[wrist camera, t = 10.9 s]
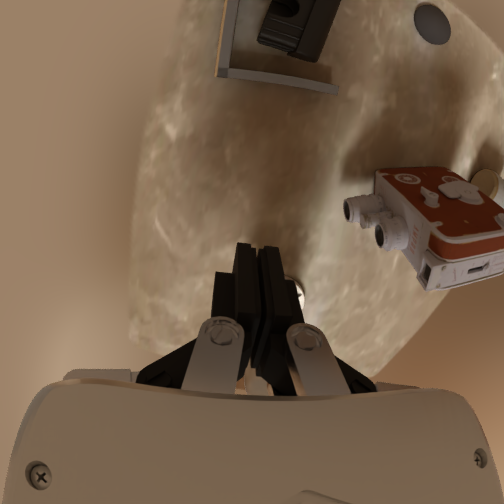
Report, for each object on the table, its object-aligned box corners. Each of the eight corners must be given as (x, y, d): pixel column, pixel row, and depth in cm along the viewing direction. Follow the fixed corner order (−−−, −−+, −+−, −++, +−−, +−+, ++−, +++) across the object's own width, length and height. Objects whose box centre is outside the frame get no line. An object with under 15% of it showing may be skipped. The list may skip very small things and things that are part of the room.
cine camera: (336, 162, 39) (404, 239, 22) (446, 158, 38) (532, 220, 22) (336, 219, 44) (387, 315, 28) (439, 208, 43) (510, 282, 27)
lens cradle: (330, 93, 33) (337, 95, 31) (215, 76, 32) (214, 76, 29) (346, -9, 25) (354, -14, 22) (232, -30, 23) (231, -38, 21)
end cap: (308, 63, 31) (323, 62, 26) (254, 45, 30) (258, 39, 24) (332, 1, 26) (351, -10, 20) (279, -19, 24) (288, -35, 19)
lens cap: (444, 50, 29) (448, 51, 28) (410, 34, 28) (414, 34, 27) (448, 16, 25) (452, 16, 24) (414, -2, 24) (418, -3, 24)
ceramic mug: (478, 159, 38) (506, 177, 32) (499, 178, 40) (524, 197, 34) (451, 208, 44) (475, 231, 37) (474, 223, 46) (496, 245, 39)
